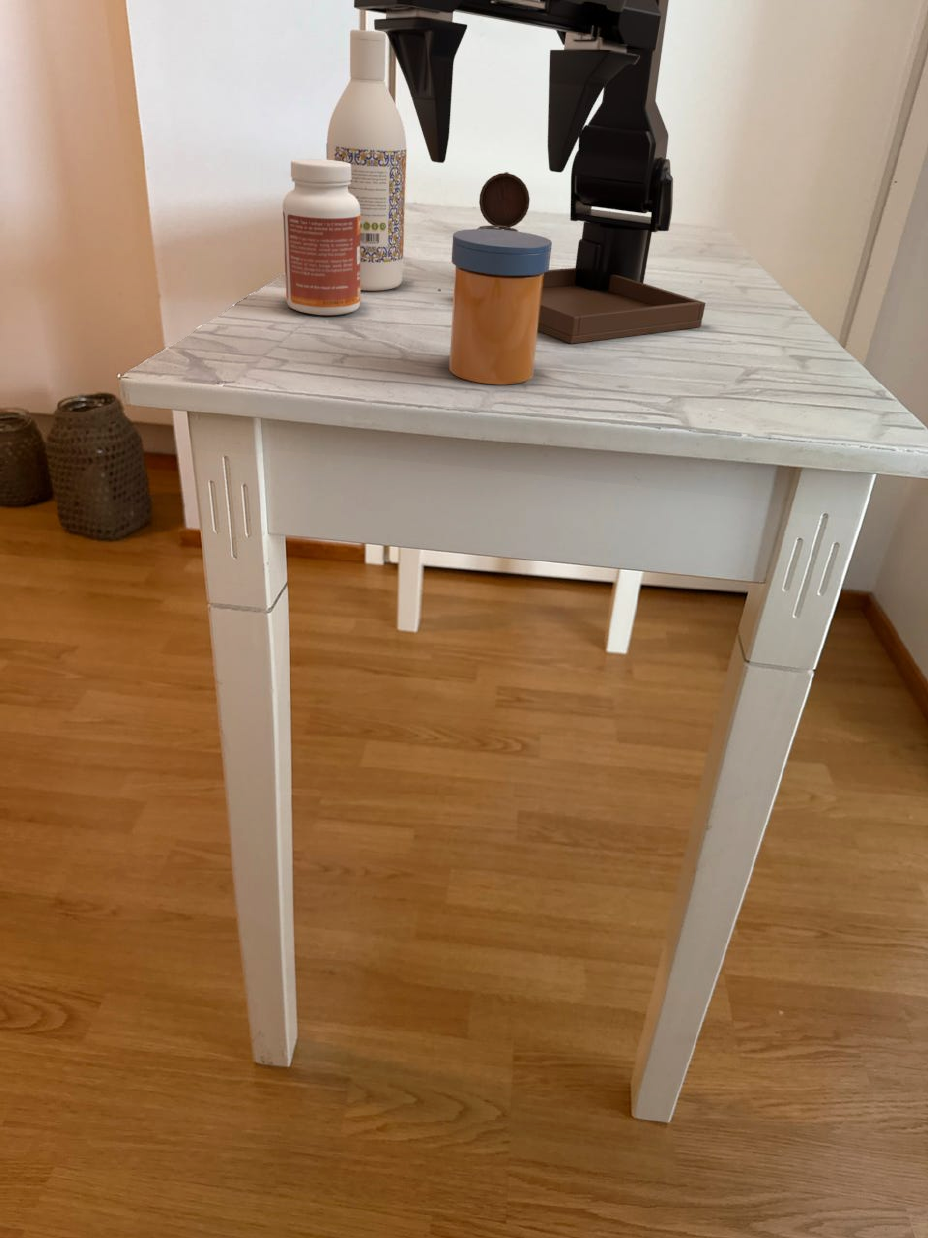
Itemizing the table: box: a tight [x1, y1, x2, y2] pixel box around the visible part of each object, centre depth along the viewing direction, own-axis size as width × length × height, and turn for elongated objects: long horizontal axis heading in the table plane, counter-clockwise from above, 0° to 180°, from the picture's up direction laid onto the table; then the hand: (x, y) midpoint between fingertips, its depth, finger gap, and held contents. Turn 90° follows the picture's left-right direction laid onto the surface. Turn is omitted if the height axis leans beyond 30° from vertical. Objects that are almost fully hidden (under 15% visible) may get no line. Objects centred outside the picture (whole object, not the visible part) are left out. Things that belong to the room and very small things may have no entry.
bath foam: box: [325, 29, 408, 292], centre depth 79 cm, size 7×7×20 cm
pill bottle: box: [282, 158, 361, 316], centre depth 73 cm, size 6×6×11 cm
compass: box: [476, 171, 531, 232], centre depth 107 cm, size 8×8×7 cm
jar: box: [448, 265, 544, 386], centre depth 62 cm, size 6×6×8 cm
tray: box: [538, 267, 706, 345], centre depth 80 cm, size 15×15×2 cm
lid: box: [451, 228, 553, 276], centre depth 59 cm, size 7×7×2 cm
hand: (499, 167), depth 57 cm, fingers open, 9 cm apart
